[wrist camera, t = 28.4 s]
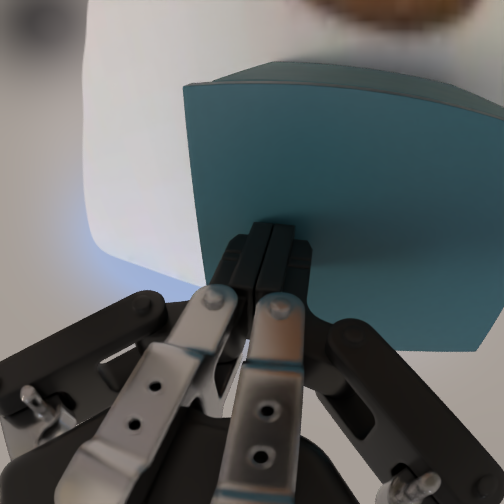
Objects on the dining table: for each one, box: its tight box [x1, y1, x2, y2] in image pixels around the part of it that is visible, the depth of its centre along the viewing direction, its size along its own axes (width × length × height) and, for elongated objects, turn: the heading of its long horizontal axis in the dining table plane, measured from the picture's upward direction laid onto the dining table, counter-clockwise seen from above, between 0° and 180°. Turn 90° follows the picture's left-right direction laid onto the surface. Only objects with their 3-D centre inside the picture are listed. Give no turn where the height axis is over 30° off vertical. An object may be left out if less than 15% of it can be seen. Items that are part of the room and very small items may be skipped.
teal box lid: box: [183, 81, 504, 352], centre depth 12 cm, size 14×12×1 cm
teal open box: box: [212, 62, 504, 118], centre depth 17 cm, size 14×12×13 cm
